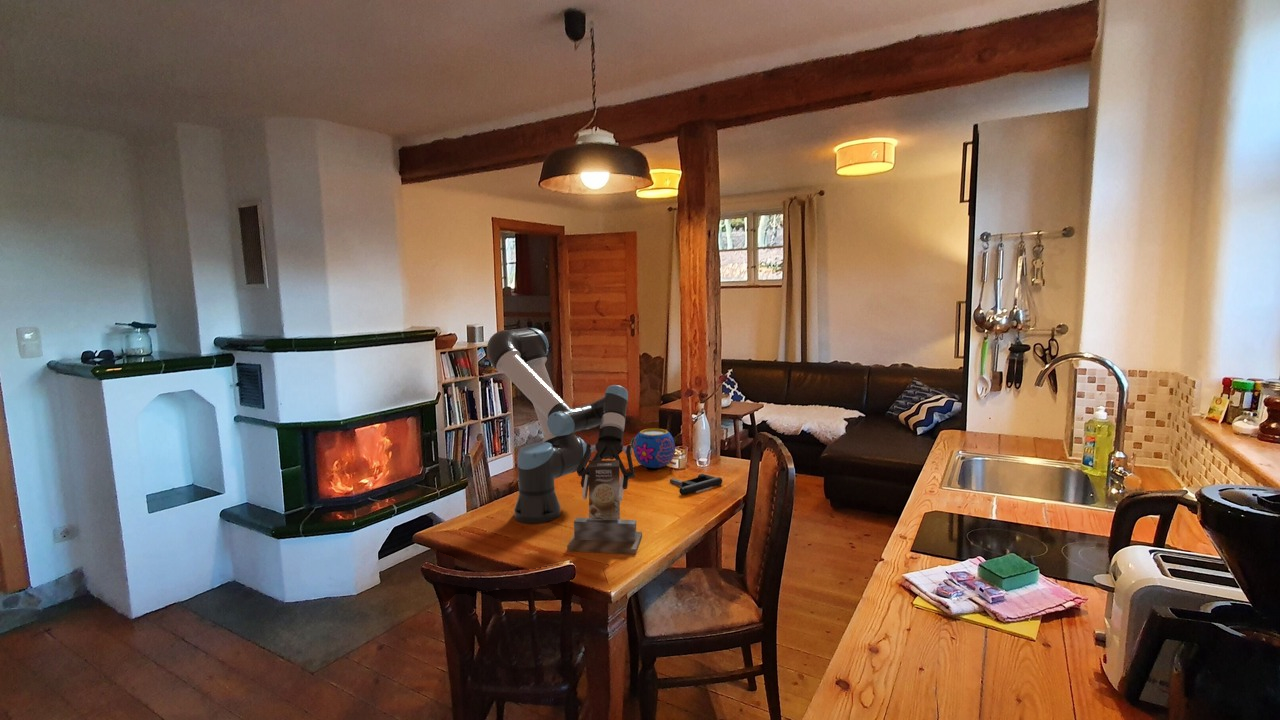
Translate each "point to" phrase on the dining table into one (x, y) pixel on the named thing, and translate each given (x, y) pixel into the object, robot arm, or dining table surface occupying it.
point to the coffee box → (604, 490)
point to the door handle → (697, 484)
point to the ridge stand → (605, 536)
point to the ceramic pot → (653, 447)
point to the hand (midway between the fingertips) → (602, 498)
